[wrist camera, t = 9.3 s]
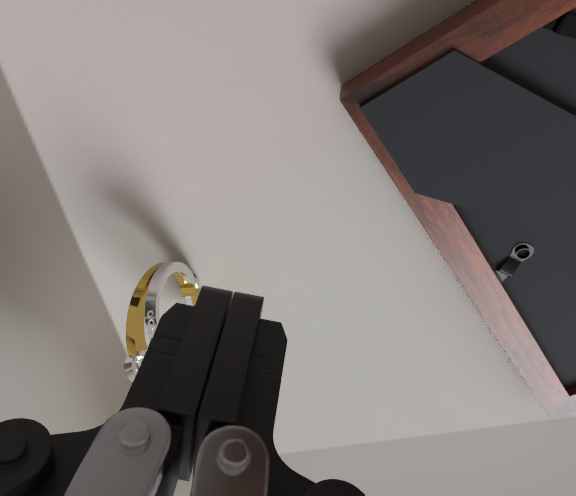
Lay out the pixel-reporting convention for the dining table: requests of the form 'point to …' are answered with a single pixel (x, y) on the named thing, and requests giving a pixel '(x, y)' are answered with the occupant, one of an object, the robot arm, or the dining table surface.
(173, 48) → the dining table surface
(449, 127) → the picture frame
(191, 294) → the ring
